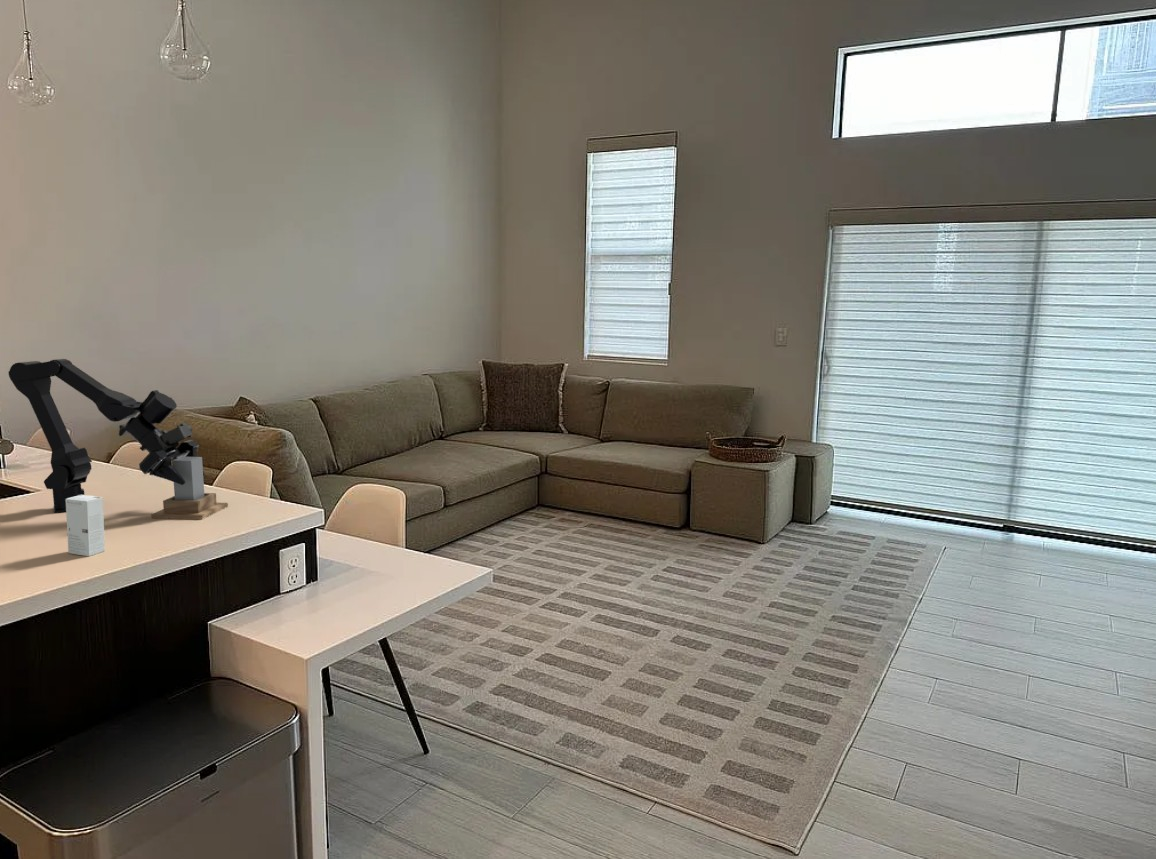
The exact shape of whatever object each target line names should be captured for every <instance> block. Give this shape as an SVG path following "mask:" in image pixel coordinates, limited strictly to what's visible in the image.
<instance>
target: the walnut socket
mask: <svg viewBox="0 0 1156 859" xmlns="http://www.w3.org/2000/svg"><path fill="white" fill-rule="evenodd" d="M204 496H205V497H203V498H200V499H198V500H196V501H194V500H175V495H174V496H171V497H169V498H167V499H163V501H162V505H163V509H160V510H158V511H155V512H153V513H151V519H168V518H183V519H182V520H204V519H206V518H208V517H210V516H212V515H214V514H216V513H218V512H219V510H220V511H222V510H224V509H225V507H226V508H228V507H229V503H228V502H217V493H215V492H214V493H213V492H212V493H211V492H204ZM221 509H222V510H221ZM217 511H218V512H217ZM215 512H216V513H215ZM213 513H214V514H213ZM211 514H212V515H211ZM209 515H210V516H209ZM207 516H208V517H207ZM205 517H206V518H205ZM203 518H204V519H203Z"/></svg>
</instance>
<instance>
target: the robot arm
mask: <svg viewBox="0 0 1156 859" xmlns="http://www.w3.org/2000/svg"><path fill="white" fill-rule="evenodd" d="M8 377H9V379H10V382H12V384H13V386H14V387H15V388H16V390H17V391H19V393H20V394H22V395H23V396H24V397H26V399H28V401H29V404H30V405H31V408H32V409H33V412H34V415H35V416H36V419H37V421H38V423H39V426H40V427H41V429H42V432H43V435H44V436H45V438H46V440H47V441H46V442H47V443H48V445H49V447H50V449H51V458H50V466H51V470H52V471H51V473H49V475H48V476H47V477H46V478H45V480H44V481H43V484H44V486H45V489H46V490H52V499H53V506H52V507H53V513H63V512H66V499H67V498H70V497H74V496H78V495H86V494H85V489H84V488H82V485H81V484H83V483H87V478H88V476H89V474H90V473H91V470H92V464H91V463H92V462H93V460H92V459H91V458H90V456H89V455H88V451H87V449H86V447H82V448H81V447H80V448H79V447H77V445H75V444H74V443H73V440H72V438H71V437H70V434H69V432H68V429H67V428H66V426H65V423H64V421H63V419H62V416H61V414H60V412H59V409H58V407H57V405H56V403H55V401H54V398H53V396H52V394H51V388H52V386H51V385H52V379H51V378H52V377H57V378H58V379H60V380H61V381H63V382H64V383H66V384H67V385H68V386H69V387H71V388H72V389H73V390H75V391H77V392H79V393H80V394H81V395H83V396H84V397H86V398H87V399H89V400H90V401H92V402H93V403H94V405H95V406H96V408H97V409H98V411H99V413H101V414H102V415H103V416H104V417H105V418H106V419H108V420H109V421H111V422H114V423H116V422H122V421H126V420H127V422H126V423H125V424H120V425H119V426H118V427H119V430H118V436H119V437H123V436H127V435H130V436H131V437H132V438H133V439H134V440H135V441H136V442H137V443H138V444H139V445H140V446H139V450H141V452H145V451H147V452H148V454H147V455H146V456H145V457H144V458H143V459H142V460H141V462H139V463H138V467H139V468H138V469H139V471H141V473H143V474H144V475H147V474H148V475H149V476H153V477H157V478H160V479H161V478H162V479H164V480H167V481H170V482H173V483H174V482H175V483H178V484H181V485H184V484H185V480H184V479H183V477H182V476H181V475H180V474H179V473H178V472H177V470H176V469H175V468H174V467H173V465H172V460H174V459H178V458H181V457H197V453H198V451H199V446H200V445H199V443H198V442H196V440H194V439H188V440H185V439H187V438H191V437H193V436H194V435H193V427H192V426H191V425H190V424H187V423H186V422H182V423H180V424H177V425H176V428H173V429H171V430H169V431H168V430H166V429H163V430H161V429H160V428H159V427H158V426H157V425H156V424H162V423H163V422H164V421H165V420H166V419H167V418H169V416H170V415H171V414H172V412H174V411H175V410H176V408H177V407H178V405H177V403H176V402H175V400H174V399H173V398H172V397H170V396H168V395H166V394H165V393H162V392H160V391H159V390H157V389H155V390H152V391H150V393H148V396H147V397H146V398H145V399H144V400H143V401H138V400H136V399H135V398H133V397H132V396H129V395H127V394H125V393H123V392H121V391H120V392H119V391H116V390H113V389H110V388H108V387H107V386H105V385H104V384H103V383H101V382H99V381H98V380H96V379H95V378H93V377H92V376H91V375H90V374H88V373H87V372H84V371H83V370H82V369H80V368H79V367H78V366H76V365H74V364H73V363H72V361H70V360H68V359H67V358H59V359H58V358H57V359H51V360H50V361H49V360H48V361H43V362H41V361H40V360H39V361H38V360H29V361H21V362H15V363H13V364H12V365H11V366H10V368H9V371H8ZM182 440H184V441H182ZM181 441H182V442H181ZM204 476H206V474H205V472H204V470H203V477H204Z"/></svg>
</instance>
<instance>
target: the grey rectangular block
mask: <svg viewBox="0 0 1156 859" xmlns="http://www.w3.org/2000/svg"><path fill="white" fill-rule="evenodd" d="M171 464H172V466H173V467H174V468H175V469H176V470H177V472H178V473H179V474H180V475H181V476H182V477H183V479H184V480H185V484H184V485H181V484H178V483H175V482H173V494H174V496H175V500H194V501H196V500H198V499H200V498H203V497H205V496H204V493H205V484H204V482H205V481H204V476H203V471H204V467H203V457H202V456H196V457H181V458H178V459H174V460H173V459H171Z"/></svg>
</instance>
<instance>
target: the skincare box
mask: <svg viewBox="0 0 1156 859" xmlns="http://www.w3.org/2000/svg"><path fill="white" fill-rule="evenodd" d="M65 513H66V514H65V515H66V516H65V517H66V533H67V549H68V550H67V552H68V553H69V554H72V555H76V556H77V555H78V556H85V557H91V556H94V555H98V554H100V553H103V552H105V551H106V546H105V542H106V541H105V540H106V539H105V523H104V522H105V521H104V499H103V497H102V496H96V495H87V494H85V495H78V496H74V497H70V498H67V499H66V511H65Z"/></svg>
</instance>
